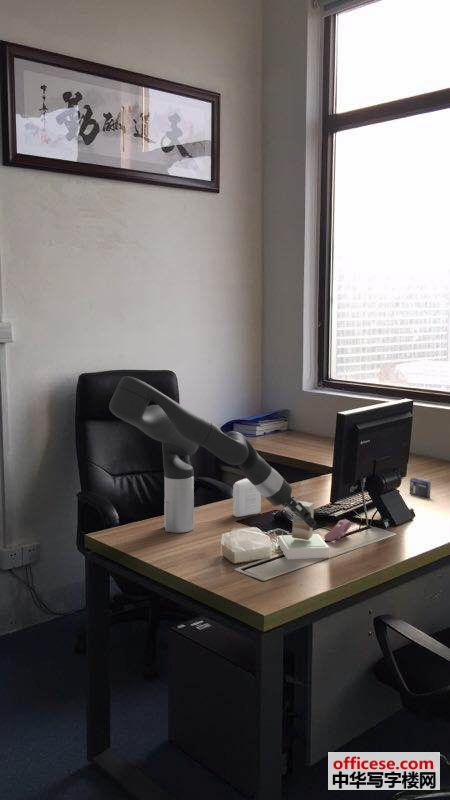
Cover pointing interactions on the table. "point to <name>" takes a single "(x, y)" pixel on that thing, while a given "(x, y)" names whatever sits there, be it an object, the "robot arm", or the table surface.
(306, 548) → the plinth
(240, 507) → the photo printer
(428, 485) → the mini dv tape
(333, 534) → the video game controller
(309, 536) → the skincare box
